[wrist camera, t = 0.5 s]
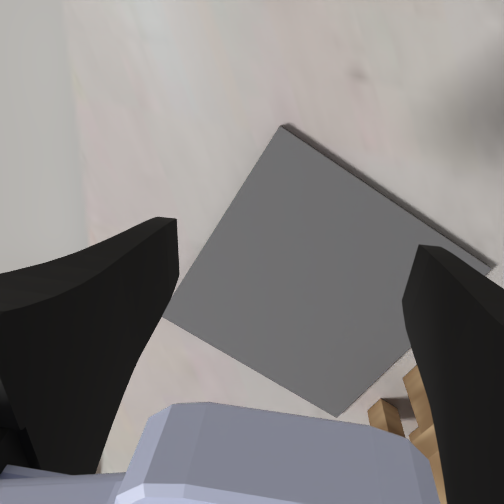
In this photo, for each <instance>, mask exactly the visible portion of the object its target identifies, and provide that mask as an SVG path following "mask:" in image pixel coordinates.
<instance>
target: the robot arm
mask: <svg viewBox="0 0 504 504" xmlns="http://www.w3.org/2000/svg"><path fill="white" fill-rule="evenodd" d="M178 278H179V256H178V236H177V219H174V218H164V217H155V218H152V219H150V220H147V221H145V222H143V223H141V224H138V225H136V226H134V227H132V228H130V229H128V230H126V231H124V232H122V233H120V234H118V235H115V236H113V237H111V238H109V239H107V240H104V241H102V242H100V243H97V244H95V245H93V246H90V247H88V248H86V249H83V250H81V251H78V252H76V253H73V254H70V255H67V256H65V257H61V258H58V259H55V260H52V261H49V262H46V263H42V264H38V265H34V266H30V267H26V268H22V269H18V270H14V271H11V272H6V273H1V274H0V504H440V500H439V496H438V493H437V489H436V485H435V481H434V477H433V473H432V470H431V466H430V462H429V460H428V459H427V458H426V457H425V456H424V455H423V454H422V453H421V452H420V451H419V450H418V449H417V448H416V447H415V446H414V445H413V444H412V443H411V442H410V441H409V440H408V439H406V438H404V437H402V436H399V435H396V434H393V433H390V432H387V431H384V430H381V429H378V428H375V427H372V426H369V425H363V424H356V423H349V422H342V421H335V420H328V419H322V418H315V417H308V416H301V415H294V414H287V413H281V412H274V411H267V410H260V409H253V408H246V407H240V406H233V405H226V404H219V403H212V402H198V403H177V404H172V405H170V406H169V407H167V408H165V409H163V410H162V411H160V412H158V413H156V414H155V415H153V416H151V417H149V418H148V421H147V423H146V426H145V428H144V431H143V433H142V435H141V438H140V440H139V443H138V445H137V447H136V450H135V452H134V455H133V457H132V459H131V462H130V464H129V467H128V469H127V472H122V473H105V474H95V473H96V470H97V467H98V464H99V461H100V458H101V455H102V452H103V449H104V447H105V444H106V441H107V438H108V435H109V432H110V429H111V427H112V424H113V421H114V419H115V416H116V413H117V411H118V408H119V405H120V403H121V400H122V397H123V395H124V392H125V390H126V387H127V385H128V383H129V380H130V378H131V375H132V373H133V370H134V368H135V366H136V364H137V362H138V360H139V357H140V355H141V354H142V352H143V350H144V348H145V346H146V344H147V343H148V341H149V339H150V337H151V335H152V333H153V332H154V330H155V328H156V326H157V324H158V322H159V321H160V319H161V317H162V315H163V313H164V311H165V309H166V308H167V306H168V304H169V302H170V300H171V297H172V294H173V292H174V289H175V286H176V283H177V280H178ZM402 307H403V315H404V321H405V327H406V331H407V335H408V338H409V341H410V344H411V348H412V351H413V354H414V357H415V360H416V363H417V366H418V369H419V372H420V376H421V379H422V382H423V385H424V388H425V391H426V394H427V398H428V401H429V405H430V409H431V414H432V419H433V424H434V429H435V434H436V439H437V444H438V450H439V456H440V462H441V468H442V474H443V479H444V486H445V493H446V500H447V504H504V289H503V288H502V287H500V286H499V285H497V284H496V283H494V282H493V281H491V280H490V279H488V278H487V277H485V276H484V275H483V274H481V273H480V272H478V271H477V270H475V269H474V268H473V267H471V266H470V265H468V264H467V263H466V262H464V261H463V260H461V259H460V258H458V257H457V256H455V255H454V254H453V253H451V252H449V251H448V250H446V249H444V248H442V247H440V246H430V245H421V244H419V245H418V248H417V252H416V255H415V258H414V262H413V265H412V268H411V272H410V275H409V278H408V281H407V285H406V288H405V291H404V295H403V298H402Z"/></svg>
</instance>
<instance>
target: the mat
mask: <svg viewBox="0 0 504 504" xmlns="http://www.w3.org/2000/svg"><path fill="white" fill-rule="evenodd" d="M419 244H421V245H430V246H440V247H442V248H444V249H446V250H448V251H449V252H451V253H453V254H454V255H455V256H457V257H458V258H460V259H461V260H463V261H464V262H466V263H467V264H468V265H470V266H471V267H473V268H474V269H475V270H477V271H478V272H480V273H481V274H483V275H484V276H485V275H486V274H487V273H488V272H489V271H490V270H491V268H490V267H489V266H488V265H486V264H485V263H483V262H482V261H481V260H479V259H478V258H476V257H475V256H473V255H472V254H470V253H469V252H467V251H466V250H464V249H463V248H461V247H460V246H458V245H457V244H455V243H454V242H452V241H451V240H449V239H448V238H446V237H445V236H443V235H442V234H441V233H439V232H438V231H436V230H435V229H433V228H432V227H430V226H429V225H427V224H426V223H424V222H423V221H421V220H420V219H418V218H417V217H415V216H414V215H412V214H411V213H409V212H408V211H406V210H405V209H403V208H402V207H401V206H399V205H398V204H396V203H395V202H393V201H392V200H390V199H389V198H387V197H386V196H384V195H383V194H381V193H380V192H378V191H377V190H375V189H374V188H372V187H371V186H369V185H368V184H366V183H365V182H363V181H362V180H361V179H359V178H358V177H356V176H355V175H353V174H352V173H350V172H349V171H347V170H346V169H344V168H343V167H341V166H340V165H338V164H337V163H335V162H334V161H332V160H331V159H329V158H328V157H326V156H325V155H323V154H322V153H321V152H319V151H318V150H316V149H315V148H313V147H312V146H310V145H309V144H307V143H306V142H304V141H303V140H301V139H300V138H298V137H297V136H295V135H294V134H292V133H291V132H289V131H288V130H286V129H285V128H283V127H282V126H281V125H280V127H279V128H278V130H277V132H276V133H275V135H274V136H273V138H272V139H271V141H270V143H269V144H268V146H267V147H266V149H265V151H264V152H263V154H262V155H261V157H260V158H259V160H258V162H257V163H256V165H255V166H254V168H253V170H252V171H251V173H250V174H249V176H248V178H247V179H246V181H245V182H244V184H243V185H242V187H241V189H240V190H239V192H238V193H237V195H236V197H235V198H234V200H233V201H232V203H231V204H230V206H229V208H228V209H227V211H226V212H225V214H224V216H223V217H222V219H221V220H220V222H219V224H218V225H217V227H216V228H215V230H214V231H213V233H212V235H211V236H210V238H209V239H208V241H207V243H206V244H205V246H204V247H203V249H202V250H201V252H200V254H199V255H198V257H197V258H196V260H195V262H194V263H193V265H192V266H191V268H190V269H189V271H188V273H187V274H186V276H185V277H184V279H183V281H182V282H181V284H180V285H179V287H178V289H177V290H176V292H175V293H174V295H173V296H172V298H171V300H170V302H169V304H168V306H167V308H166V309H165V311H164V313H163V315H162V317H163V318H165V319H167V320H169V321H170V322H172V323H174V324H175V325H177V326H179V327H181V328H182V329H184V330H186V331H188V332H189V333H191V334H193V335H194V336H196V337H198V338H200V339H201V340H203V341H205V342H207V343H208V344H210V345H212V346H213V347H215V348H217V349H219V350H220V351H222V352H224V353H226V354H227V355H229V356H231V357H232V358H234V359H236V360H238V361H239V362H241V363H243V364H245V365H246V366H248V367H250V368H251V369H253V370H255V371H257V372H258V373H260V374H262V375H264V376H265V377H267V378H269V379H270V380H272V381H274V382H276V383H277V384H279V385H281V386H283V387H284V388H286V389H288V390H289V391H291V392H293V393H295V394H296V395H298V396H300V397H302V398H303V399H305V400H307V401H308V402H310V403H312V404H314V405H315V406H317V407H319V408H321V409H322V410H324V411H326V412H327V413H329V414H331V415H333V416H334V417H336V418H337V417H338V416H339V415H340V414H341V413H342V412H343V411H345V410H346V409H347V408H348V407H349V406H350V405H351V404H352V403H353V402H354V401H355V400H356V399H357V398H358V397H359V396H360V395H361V394H362V393H363V392H364V391H365V390H366V389H367V388H368V387H369V386H371V385H372V384H373V383H374V382H375V381H376V380H377V379H378V378H379V377H380V376H381V375H382V374H383V373H384V372H385V371H386V370H387V369H388V368H389V367H390V366H391V365H392V364H393V363H394V362H395V361H397V360H398V359H399V358H400V357H401V356H402V355H403V354H404V353H405V352H406V351H407V350H408V349H409V348H410V347H411V344H410V341H409V338H408V335H407V331H406V327H405V321H404V315H403V307H402V298H403V295H404V291H405V288H406V285H407V281H408V278H409V275H410V272H411V268H412V265H413V262H414V258H415V255H416V252H417V248H418V245H419Z"/></svg>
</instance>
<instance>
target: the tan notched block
mask: <svg viewBox="0 0 504 504" xmlns="http://www.w3.org/2000/svg"><path fill="white" fill-rule="evenodd" d="M403 381H404V384H405V387H406V390H407V393H408V396H409V399H410V402H411V405H412V408H413V411H414V414H415V417H416V420H417V423H418V426H419V427H418V428H417V429H416V430H415V431H413V432H412V433H411V434H410V435H409V438H410V441H411V443H412V444H413V445H414V446H415V447H416V448H417V449H418V450H419V451H420V452H421V453H422V454H423V455H424V456H425V457H426V458H427V459H428V460H429V462H430V466H431V470H432V473H433V477H434V481H435V485H436V489H437V493H438V496H439V500H440V504H447V500H446V493H445V486H444V479H443V474H442V468H441V462H440V456H439V450H438V444H437V439H436V434H435V429H434V424H433V419H432V414H431V409H430V405H429V401H428V398H427V394H426V391H425V388H424V385H423V382H422V379H421V376H420V372H419V369H418V366H417V365H416V366H415V367H414V368H413V369H412V370H411V371H410V372H409V373H408V374H407V375H406V376H404V377H403ZM367 412H368V417H369V422H370V426H372V427H375V428H378V429H381V430H384V431H387V432H390V433H393V434H396V435H399V436H402V437H404V438H405V434H404V431H403V427H402V424H401V420H400V417H399V413H398V410H397V408H396V407H394V406H392V405H391V404H389V403H387V402H386V401H384V400H382V399H380V400H379V401H378V402H376V403H375V404H374V405H373V406H372V407H371V408H370V409H369V410H368V411H367Z"/></svg>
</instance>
